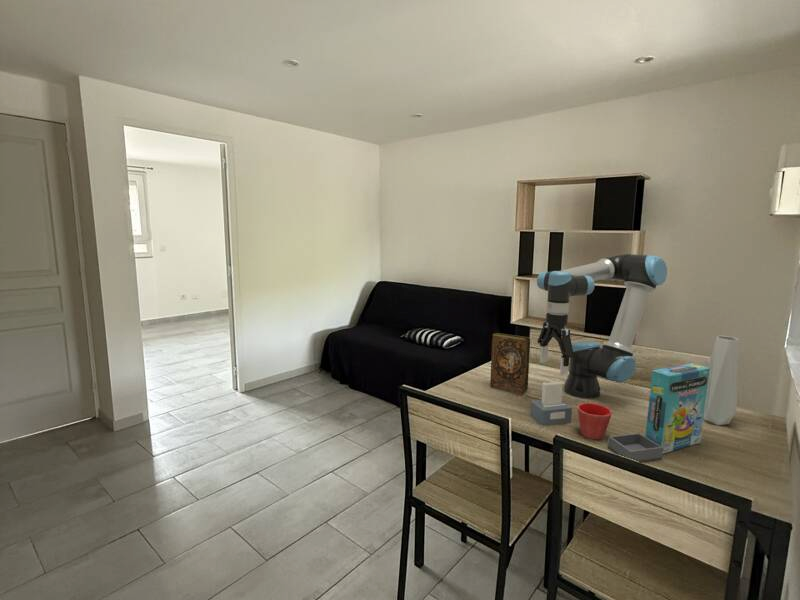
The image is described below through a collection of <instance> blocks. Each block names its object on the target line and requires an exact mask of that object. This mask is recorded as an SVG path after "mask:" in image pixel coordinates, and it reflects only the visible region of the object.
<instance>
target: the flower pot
mask: <svg viewBox="0 0 800 600" xmlns="http://www.w3.org/2000/svg"><path fill="white" fill-rule="evenodd" d="M612 413H613V412H612V410H611V409H610V408H609V407H606V406H605V405H601V404H599V403H593V402H583V403H580V404H578V405H577V414H578V423H579V428H580V431H579V432H580V433H581V435H582V436H584V437H585V438H588V439H591V440H601V439H604V437H605V435H606V433H607V430H608V426H609V425H610V424H609V423H610V421H611V417H612Z"/></svg>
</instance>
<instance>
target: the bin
mask: <svg viewBox="0 0 800 600" xmlns="http://www.w3.org/2000/svg"><path fill="white" fill-rule="evenodd" d="M607 448H608V449H609V450H610V451H611V452H612V453H614V454H616V455H617V454H619V455H621V456H624V457H627V458H630V459H633V460H636V461H639V462H638V463H643V462H651V461H657V460H662V459H663V455H664V454H663V447H661V446H660V445H658V444H656V443H655V442H653V441H652V440H650V439H648V438H647V437H645V435H644V434H642V433H641V432H637V433H627V434H621V435H619V434H618V435H612V436H611V435H610V436H609V435H608V440H607ZM619 455H618V456H619Z"/></svg>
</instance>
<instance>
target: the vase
mask: <svg viewBox="0 0 800 600" xmlns="http://www.w3.org/2000/svg"><path fill="white" fill-rule="evenodd" d="M740 343H741V342H740V339H739V338H737V337H735V336H728V335H717V336H716V338H715V342H714V345H713V348H712V352H711V356H710V358H709V362H708V366H707V367H708V368H710V370H709V377H708V384H707V393H706V400H705V409H704V416H703V421H706V422H708V423H711V424H714V425H716V426H726V424H727V425H729V424H730V423H731V421H732V420H733V417H734V415H735V413H736V411H737V405H738V386H739V367H740V366H739V363H740V345H741V344H740Z"/></svg>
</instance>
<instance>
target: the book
mask: <svg viewBox="0 0 800 600" xmlns="http://www.w3.org/2000/svg"><path fill="white" fill-rule="evenodd" d="M491 337H492V338H491V356H490V357H491V360H490V361H491V362H490V386H489V387H490V389H494V390H500V391H504V392H507V393H513V394H517V395H524V393H525V392H526V391H527V390H528V388H529V376H530V375H529V374H530V371H529V370H530V355H531V353H530V352H531V351H530V350H531V337H528V336H522V335H521V336H520V335H515V334H514V335H513V334H508V333H507V334H506V333H500V332H496V333H495V332H494V333H492V334H491Z"/></svg>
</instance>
